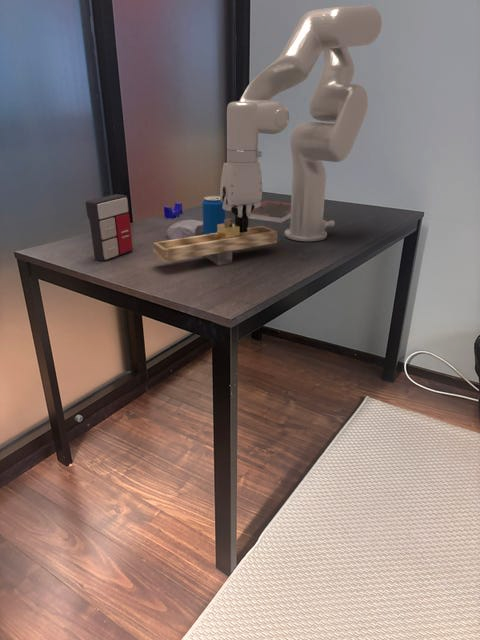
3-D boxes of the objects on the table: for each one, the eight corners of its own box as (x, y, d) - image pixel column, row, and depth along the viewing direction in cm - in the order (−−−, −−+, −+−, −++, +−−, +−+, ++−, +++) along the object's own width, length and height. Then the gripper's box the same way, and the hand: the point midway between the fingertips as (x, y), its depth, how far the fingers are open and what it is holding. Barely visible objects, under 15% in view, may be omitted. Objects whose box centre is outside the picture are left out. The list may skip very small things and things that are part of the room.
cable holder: (173, 219, 162) (172, 207, 161) (164, 218, 164) (163, 206, 162) (186, 214, 169) (185, 203, 167) (177, 213, 170) (177, 202, 168)
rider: (231, 237, 126) (230, 216, 124) (239, 241, 123) (239, 220, 120) (217, 239, 124) (217, 218, 122) (225, 243, 121) (225, 222, 118)
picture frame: (281, 224, 159) (305, 211, 176) (281, 217, 158) (305, 204, 175) (237, 218, 166) (264, 206, 183) (237, 211, 165) (264, 200, 182)
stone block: (166, 245, 142) (197, 240, 139) (162, 229, 140) (194, 224, 138) (178, 235, 153) (208, 231, 150) (174, 221, 151) (204, 216, 148)
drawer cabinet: (104, 262, 122) (97, 203, 115) (93, 259, 124) (84, 201, 117) (135, 251, 130) (129, 195, 124) (123, 248, 132) (117, 193, 126)
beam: (261, 246, 134) (261, 224, 132) (277, 254, 128) (278, 231, 125) (153, 265, 120) (151, 241, 117) (166, 275, 114) (164, 250, 111)
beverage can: (228, 237, 143) (228, 196, 137) (220, 243, 137) (220, 200, 132) (208, 235, 144) (207, 194, 139) (200, 241, 139) (198, 199, 134)
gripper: (259, 154, 123) (258, 224, 131) (207, 157, 116) (209, 231, 124) (276, 157, 117) (273, 231, 125) (222, 160, 110) (223, 238, 118)
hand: (241, 231), depth 124 cm, fingers closed
